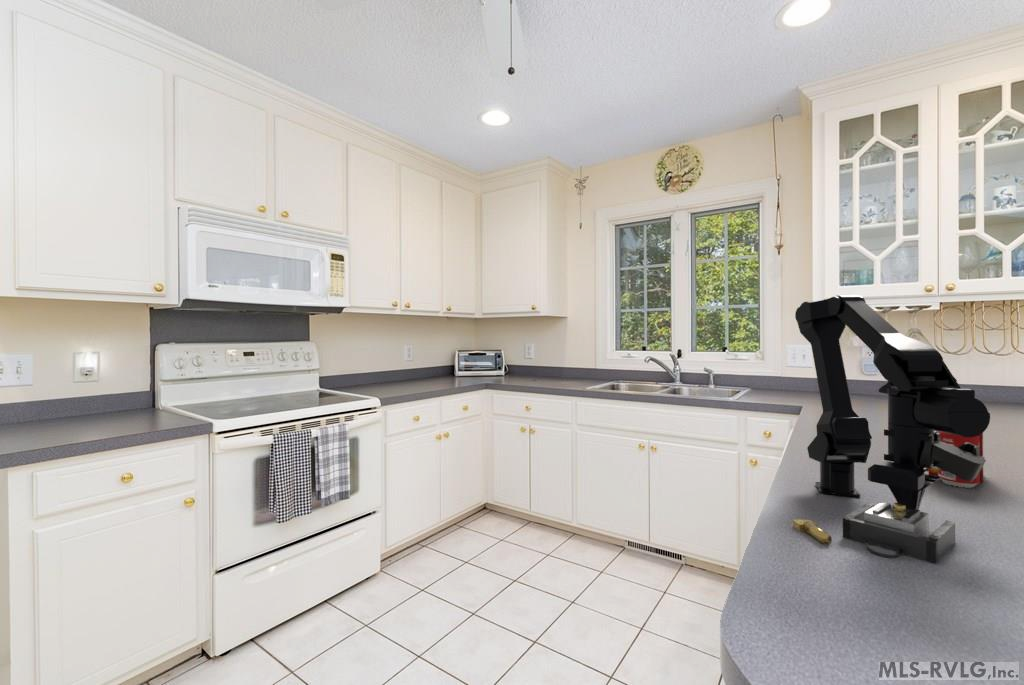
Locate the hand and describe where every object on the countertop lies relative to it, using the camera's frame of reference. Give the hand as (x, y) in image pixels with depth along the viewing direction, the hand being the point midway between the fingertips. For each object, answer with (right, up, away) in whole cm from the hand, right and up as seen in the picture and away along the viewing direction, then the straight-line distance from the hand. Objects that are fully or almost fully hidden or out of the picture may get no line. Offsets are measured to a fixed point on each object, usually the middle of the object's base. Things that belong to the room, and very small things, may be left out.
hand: (910, 518), depth 76 cm
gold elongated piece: (-18, -2, -3) cm, 18 cm away
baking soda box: (+33, -1, +28) cm, 43 cm away
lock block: (-6, -2, -5) cm, 8 cm away
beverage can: (+28, -1, +21) cm, 35 cm away
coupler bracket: (-7, -1, -6) cm, 9 cm away
